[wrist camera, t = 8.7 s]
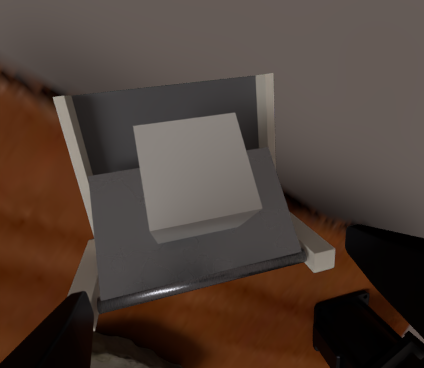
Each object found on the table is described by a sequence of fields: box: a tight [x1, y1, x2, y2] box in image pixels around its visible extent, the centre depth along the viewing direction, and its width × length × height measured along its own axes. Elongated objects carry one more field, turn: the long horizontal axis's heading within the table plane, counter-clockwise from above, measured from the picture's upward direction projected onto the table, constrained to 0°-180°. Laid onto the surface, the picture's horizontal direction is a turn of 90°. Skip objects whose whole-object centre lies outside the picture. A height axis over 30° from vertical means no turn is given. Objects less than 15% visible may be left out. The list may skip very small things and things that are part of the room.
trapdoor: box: [88, 147, 307, 314], centre depth 17 cm, size 8×12×1 cm
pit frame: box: [53, 73, 335, 331], centre depth 17 cm, size 13×16×8 cm
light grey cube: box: [133, 113, 263, 244], centre depth 15 cm, size 5×5×5 cm
